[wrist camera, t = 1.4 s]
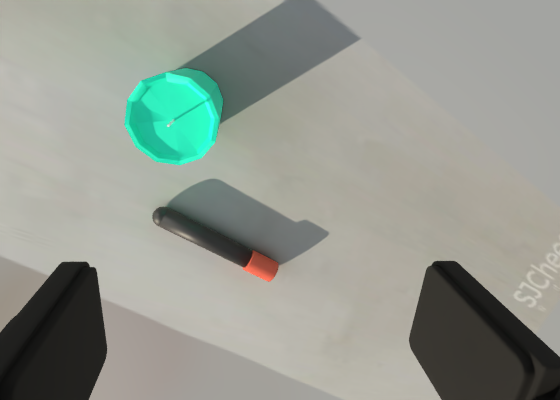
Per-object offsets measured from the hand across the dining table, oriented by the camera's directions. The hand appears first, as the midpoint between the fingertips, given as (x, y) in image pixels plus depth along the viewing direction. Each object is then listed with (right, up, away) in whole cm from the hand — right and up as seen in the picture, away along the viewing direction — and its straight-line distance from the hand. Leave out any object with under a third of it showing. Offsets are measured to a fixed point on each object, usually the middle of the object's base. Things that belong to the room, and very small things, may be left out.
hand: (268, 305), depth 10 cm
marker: (-6, -1, +28) cm, 29 cm away
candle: (-8, +12, +23) cm, 27 cm away
